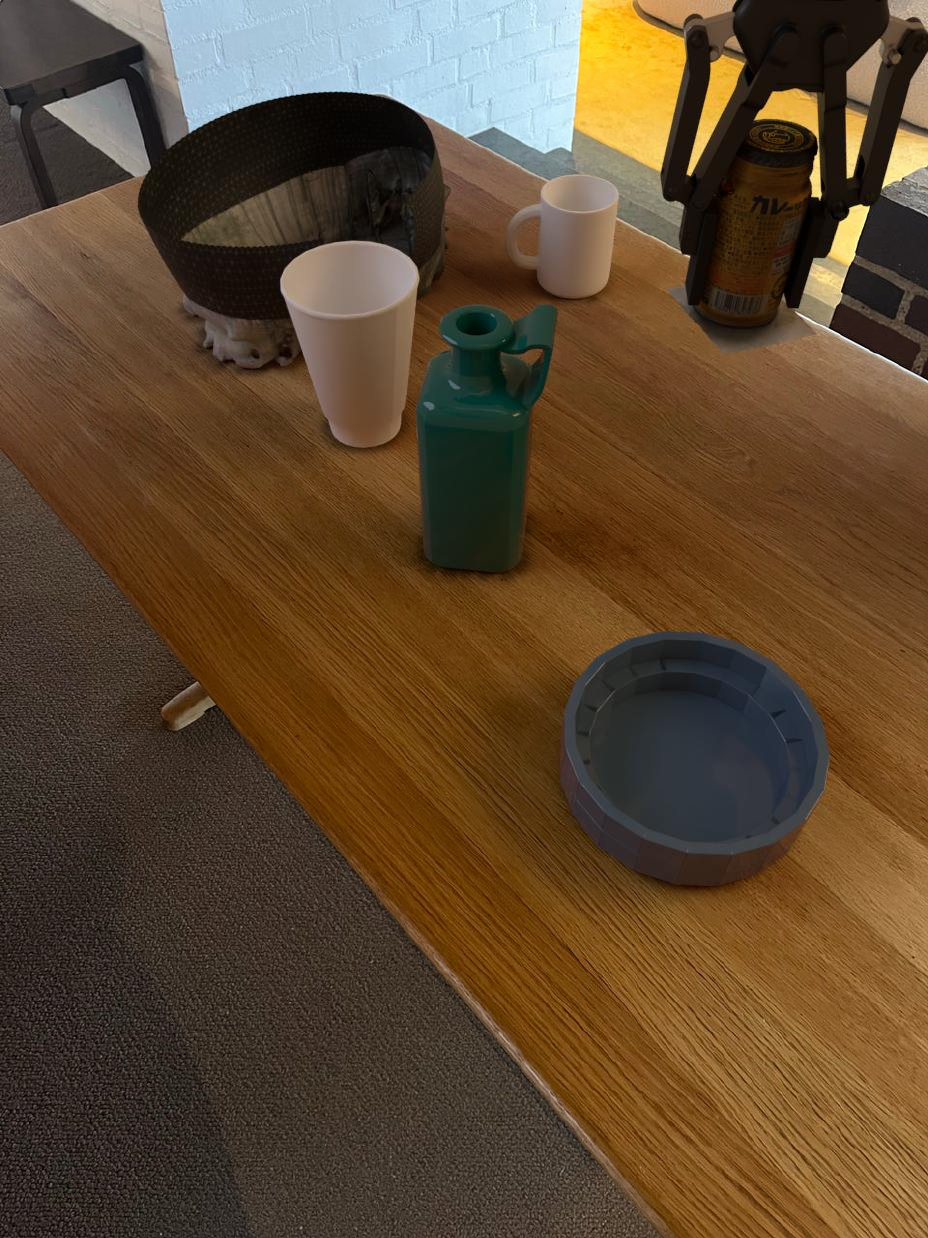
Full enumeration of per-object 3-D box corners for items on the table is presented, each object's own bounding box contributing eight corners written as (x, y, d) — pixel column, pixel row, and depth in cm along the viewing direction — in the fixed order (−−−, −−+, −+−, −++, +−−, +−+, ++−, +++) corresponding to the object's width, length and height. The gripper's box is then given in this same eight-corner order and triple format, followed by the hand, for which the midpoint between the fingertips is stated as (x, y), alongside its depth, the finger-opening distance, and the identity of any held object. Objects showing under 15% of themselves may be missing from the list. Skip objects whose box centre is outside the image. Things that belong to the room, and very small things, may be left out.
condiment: (754, 272, 71) (796, 103, 62) (816, 336, 66) (872, 162, 57) (665, 291, 70) (695, 121, 60) (722, 357, 65) (764, 183, 55)
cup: (369, 371, 99) (354, 225, 87) (451, 422, 94) (448, 274, 82) (280, 425, 94) (250, 277, 81) (361, 483, 89) (343, 334, 76)
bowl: (784, 678, 74) (803, 634, 70) (828, 895, 63) (854, 859, 59) (556, 671, 75) (561, 627, 71) (561, 885, 64) (567, 848, 60)
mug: (505, 302, 107) (507, 214, 99) (501, 262, 112) (503, 175, 104) (612, 300, 107) (623, 211, 99) (604, 260, 112) (613, 172, 104)
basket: (519, 328, 104) (525, 180, 91) (200, 409, 96) (159, 259, 83) (424, 206, 120) (418, 67, 108) (145, 267, 112) (104, 124, 99)
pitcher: (420, 568, 82) (406, 349, 65) (435, 499, 87) (426, 280, 70) (534, 579, 81) (550, 361, 64) (543, 509, 86) (560, 290, 69)
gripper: (1009, -129, 51) (868, 270, 69) (647, -132, 52) (602, 262, 70) (1055, -84, 46) (891, 331, 64) (656, -89, 47) (605, 322, 65)
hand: (741, 295), depth 67 cm, fingers closed on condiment, 6 cm apart
